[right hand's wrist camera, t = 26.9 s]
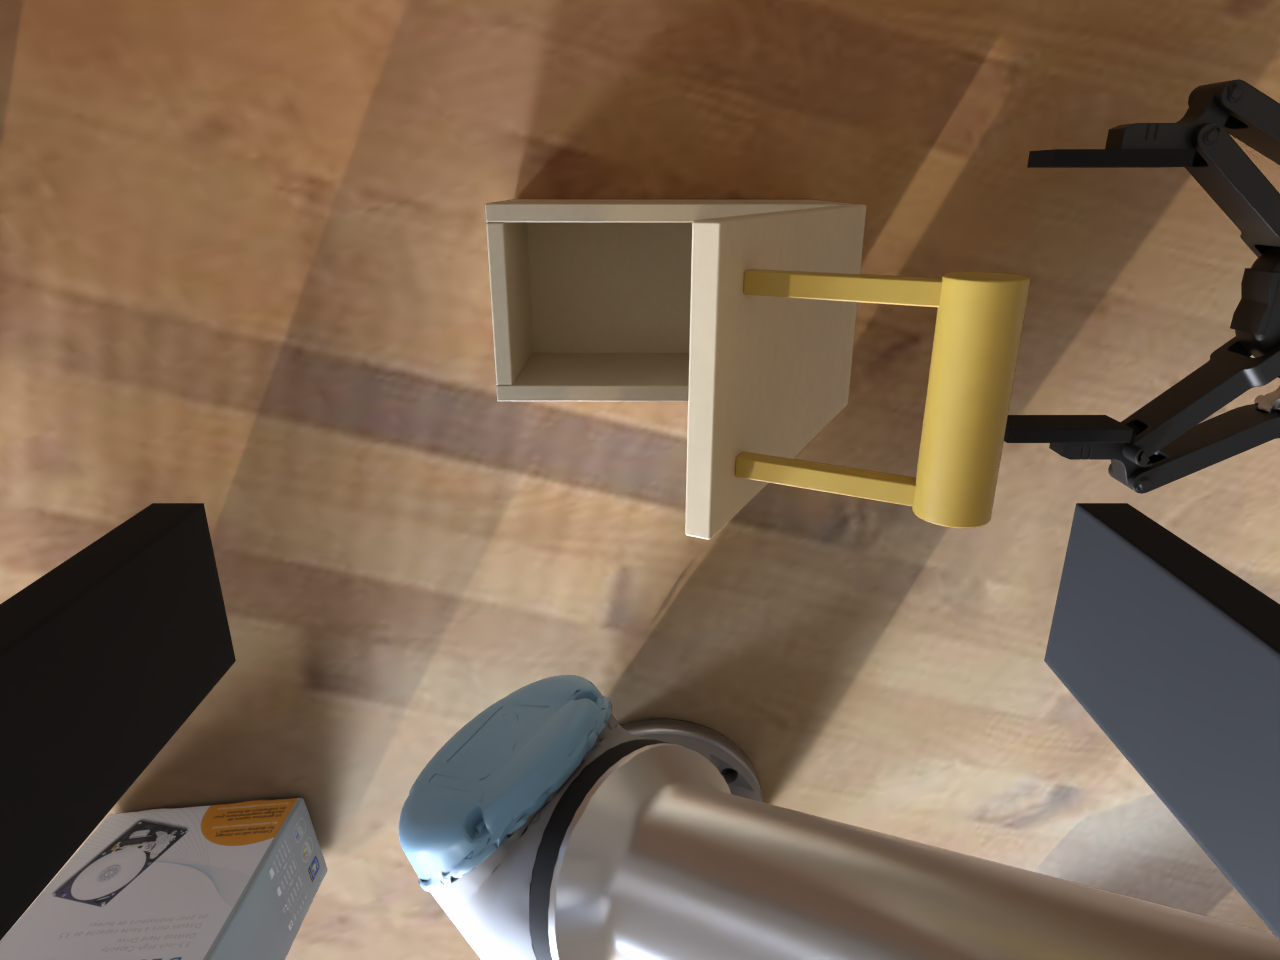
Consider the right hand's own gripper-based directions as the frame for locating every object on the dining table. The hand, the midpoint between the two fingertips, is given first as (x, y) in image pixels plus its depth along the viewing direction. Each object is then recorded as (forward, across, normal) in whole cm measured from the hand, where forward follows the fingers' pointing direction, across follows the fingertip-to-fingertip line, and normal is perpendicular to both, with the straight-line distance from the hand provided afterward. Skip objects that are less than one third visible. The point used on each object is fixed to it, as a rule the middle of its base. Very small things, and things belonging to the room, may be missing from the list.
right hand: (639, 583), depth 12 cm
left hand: (+31, -19, 0) cm, 36 cm away
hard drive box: (+37, +32, +42) cm, 65 cm away
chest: (+37, -1, 0) cm, 37 cm away
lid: (+20, -6, 0) cm, 21 cm away
